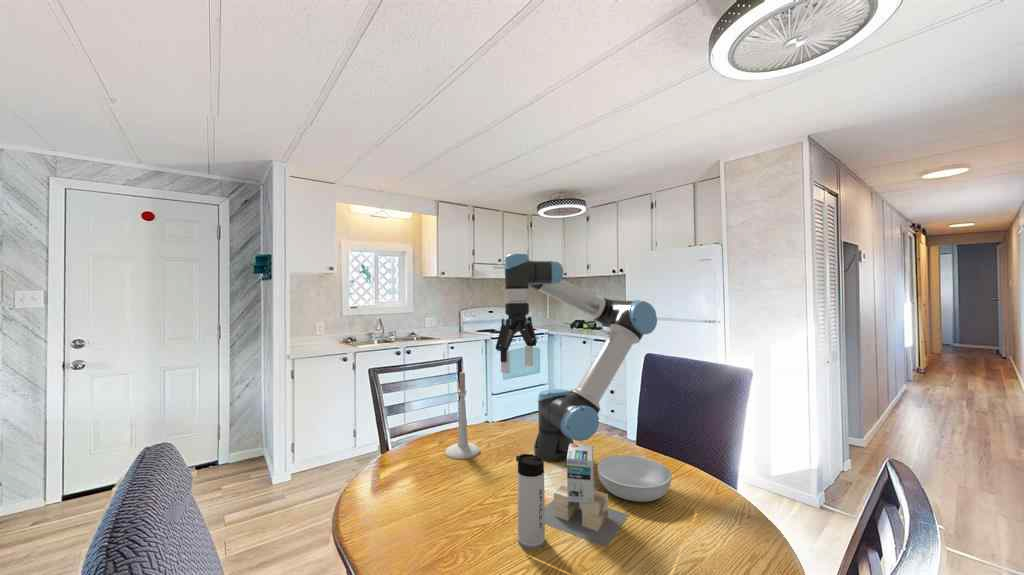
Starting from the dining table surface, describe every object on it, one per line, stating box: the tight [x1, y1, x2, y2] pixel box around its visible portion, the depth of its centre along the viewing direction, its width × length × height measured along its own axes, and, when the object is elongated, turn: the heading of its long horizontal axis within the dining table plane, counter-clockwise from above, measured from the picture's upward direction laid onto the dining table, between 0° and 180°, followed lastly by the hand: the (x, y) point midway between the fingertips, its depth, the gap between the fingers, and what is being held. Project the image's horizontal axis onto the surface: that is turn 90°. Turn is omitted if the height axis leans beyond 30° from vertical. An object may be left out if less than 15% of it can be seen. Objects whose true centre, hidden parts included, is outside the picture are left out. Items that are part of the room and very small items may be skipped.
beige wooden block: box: [553, 481, 580, 521], centre depth 103 cm, size 7×4×6 cm, turn 145°
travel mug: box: [515, 453, 546, 551], centre depth 91 cm, size 6×7×20 cm
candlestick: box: [445, 371, 481, 460], centre depth 145 cm, size 13×13×30 cm
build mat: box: [545, 499, 630, 548], centre depth 101 cm, size 16×20×1 cm
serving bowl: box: [596, 454, 673, 503], centre depth 114 cm, size 21×21×7 cm
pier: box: [582, 489, 609, 531], centre depth 99 cm, size 7×4×6 cm, turn 145°
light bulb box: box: [566, 443, 595, 504], centre depth 101 cm, size 11×7×11 cm, turn 168°
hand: (517, 369), depth 124 cm, fingers open, 13 cm apart
